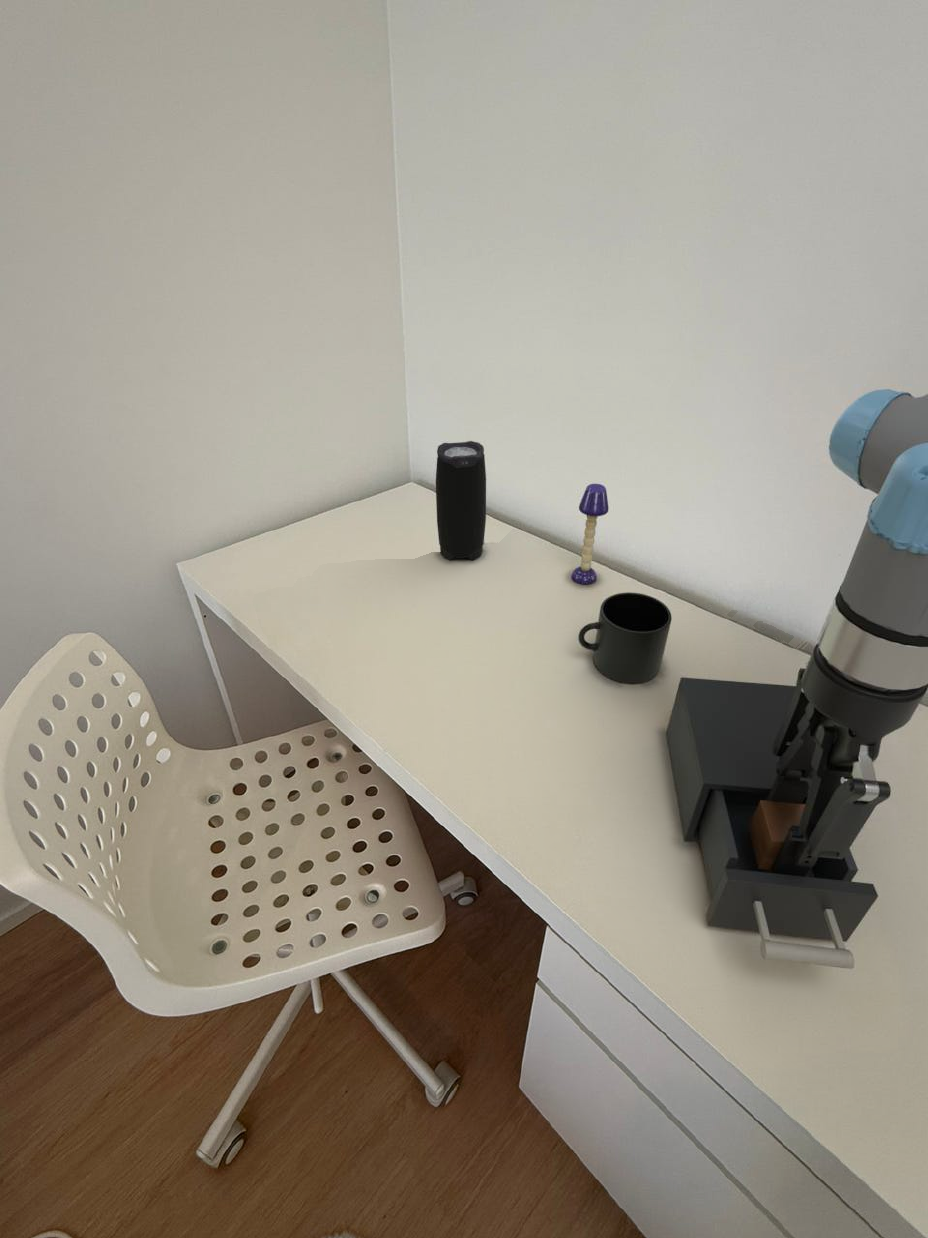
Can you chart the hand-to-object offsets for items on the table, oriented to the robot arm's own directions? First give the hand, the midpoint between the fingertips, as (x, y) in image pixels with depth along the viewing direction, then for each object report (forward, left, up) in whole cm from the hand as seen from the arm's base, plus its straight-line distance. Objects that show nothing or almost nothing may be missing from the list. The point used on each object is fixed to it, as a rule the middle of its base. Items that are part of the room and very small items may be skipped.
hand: (779, 849), depth 61 cm
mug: (+12, -33, -7) cm, 36 cm away
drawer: (0, 0, -6) cm, 6 cm away
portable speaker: (+38, -61, -7) cm, 73 cm away
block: (0, 0, 0) cm, 0 cm away
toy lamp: (+16, -55, -7) cm, 58 cm away
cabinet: (0, -12, -7) cm, 14 cm away
